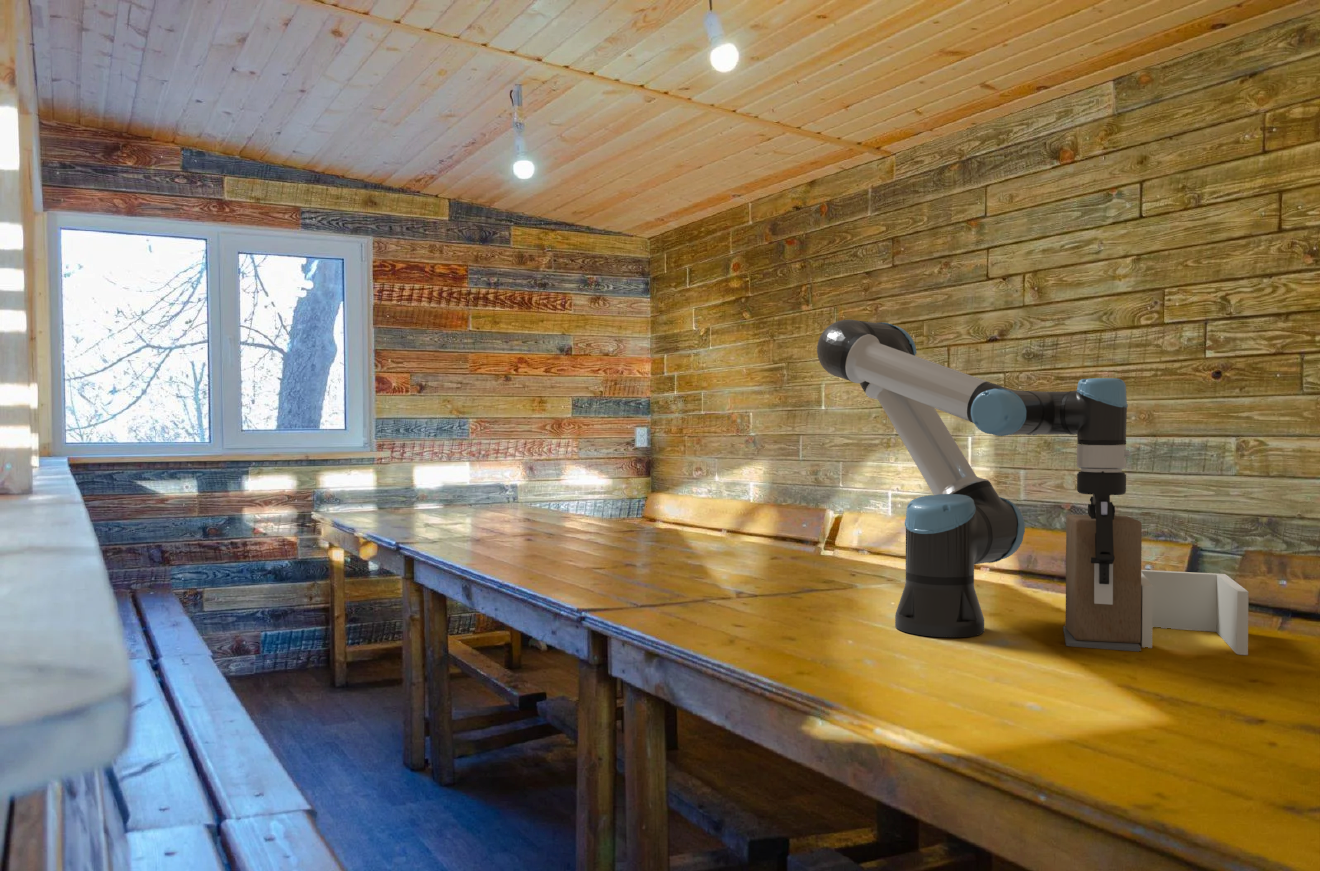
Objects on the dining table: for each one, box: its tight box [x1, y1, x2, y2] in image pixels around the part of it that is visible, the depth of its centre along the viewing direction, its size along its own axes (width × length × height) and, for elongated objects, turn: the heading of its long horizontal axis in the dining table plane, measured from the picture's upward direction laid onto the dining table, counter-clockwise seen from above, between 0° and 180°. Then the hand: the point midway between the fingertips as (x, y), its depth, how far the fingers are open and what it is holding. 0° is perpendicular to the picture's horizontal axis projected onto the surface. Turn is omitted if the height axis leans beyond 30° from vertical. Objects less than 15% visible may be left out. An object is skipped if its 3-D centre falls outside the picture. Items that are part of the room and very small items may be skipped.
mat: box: [1062, 625, 1142, 652], centre depth 164 cm, size 11×14×1 cm
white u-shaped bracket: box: [1139, 569, 1249, 656], centre depth 166 cm, size 15×20×10 cm
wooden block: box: [1064, 513, 1143, 644], centre depth 164 cm, size 10×10×20 cm
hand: (1100, 597), depth 164 cm, fingers open, 13 cm apart
